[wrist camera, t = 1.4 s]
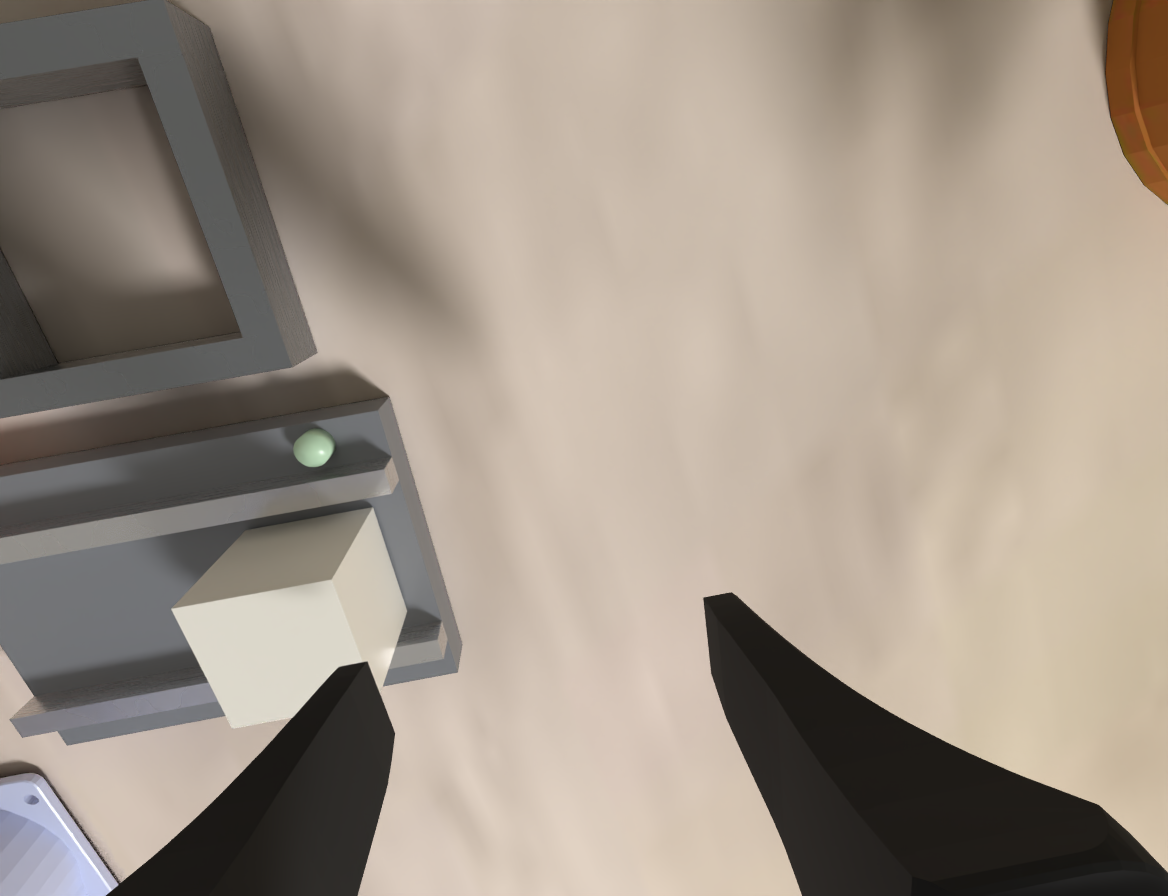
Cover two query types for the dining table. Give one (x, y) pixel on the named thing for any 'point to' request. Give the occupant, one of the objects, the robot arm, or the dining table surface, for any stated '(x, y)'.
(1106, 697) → the dining table surface
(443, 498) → the dining table surface
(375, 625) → the block
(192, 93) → the grey square frame
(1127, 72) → the decorative plant
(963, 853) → the robot arm
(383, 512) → the breaker panel
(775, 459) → the dining table surface
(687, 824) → the dining table surface
